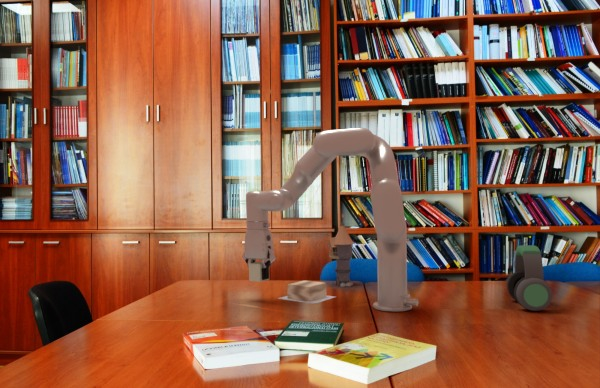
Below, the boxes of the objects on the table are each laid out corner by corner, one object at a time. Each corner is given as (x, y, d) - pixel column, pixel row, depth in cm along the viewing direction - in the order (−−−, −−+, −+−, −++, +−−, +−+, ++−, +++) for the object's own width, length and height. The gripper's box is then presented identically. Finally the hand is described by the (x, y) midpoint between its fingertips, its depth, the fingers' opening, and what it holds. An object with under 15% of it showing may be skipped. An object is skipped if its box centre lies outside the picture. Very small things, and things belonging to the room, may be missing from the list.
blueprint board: (336, 298, 180) (336, 296, 180) (314, 306, 169) (314, 303, 169) (300, 294, 190) (300, 292, 190) (277, 300, 179) (277, 298, 179)
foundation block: (326, 296, 180) (326, 282, 180) (310, 301, 172) (310, 287, 172) (304, 293, 186) (303, 280, 186) (287, 298, 178) (287, 284, 178)
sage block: (269, 279, 175) (268, 262, 175) (260, 281, 171) (259, 264, 171) (258, 278, 178) (258, 261, 178) (249, 280, 174) (248, 263, 174)
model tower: (325, 284, 211) (324, 212, 211) (349, 282, 214) (349, 212, 214) (334, 287, 202) (333, 213, 202) (359, 286, 205) (358, 212, 205)
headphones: (555, 313, 155) (554, 248, 155) (517, 312, 157) (516, 248, 157) (538, 300, 174) (538, 243, 174) (505, 299, 176) (504, 242, 176)
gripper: (283, 225, 173) (285, 278, 173) (246, 225, 183) (248, 275, 183) (269, 227, 167) (271, 282, 167) (232, 226, 177) (234, 278, 177)
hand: (259, 278), depth 175 cm, fingers closed on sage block, 5 cm apart
